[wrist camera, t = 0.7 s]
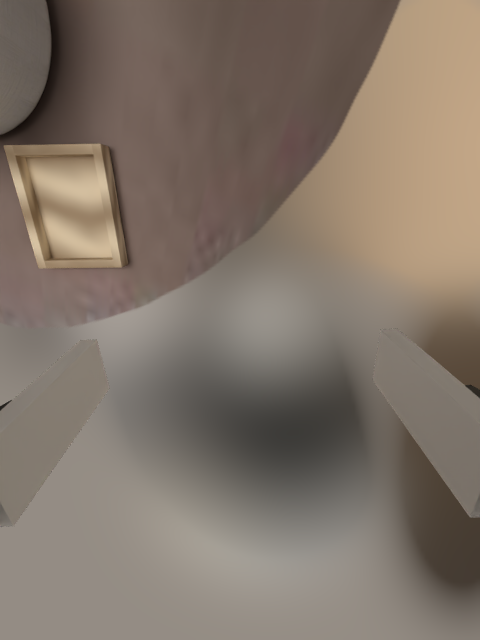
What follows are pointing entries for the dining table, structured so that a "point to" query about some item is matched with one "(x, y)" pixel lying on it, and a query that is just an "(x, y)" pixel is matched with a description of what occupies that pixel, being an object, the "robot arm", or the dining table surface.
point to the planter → (22, 58)
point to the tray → (69, 204)
